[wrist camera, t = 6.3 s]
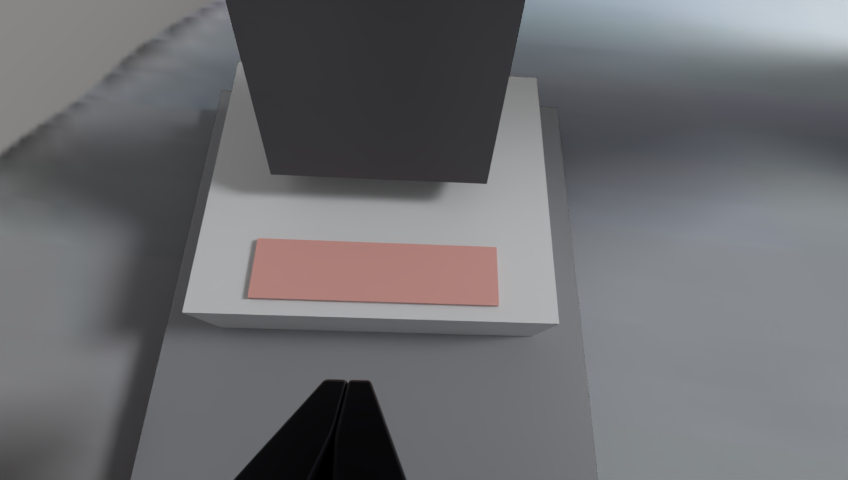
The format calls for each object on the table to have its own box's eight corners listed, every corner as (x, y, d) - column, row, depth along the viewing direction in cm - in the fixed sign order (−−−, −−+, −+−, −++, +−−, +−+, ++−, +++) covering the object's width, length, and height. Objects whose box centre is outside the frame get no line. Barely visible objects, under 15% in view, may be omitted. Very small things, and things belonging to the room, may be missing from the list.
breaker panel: (587, 536, 16) (661, 591, 11) (141, 532, 15) (32, 589, 10) (547, 126, 22) (584, 57, 17) (233, 110, 21) (190, 35, 17)
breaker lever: (490, 185, 14) (578, -222, 7) (266, 176, 13) (150, -258, 7) (483, 147, 15) (551, -219, 9) (282, 137, 15) (198, -249, 8)
